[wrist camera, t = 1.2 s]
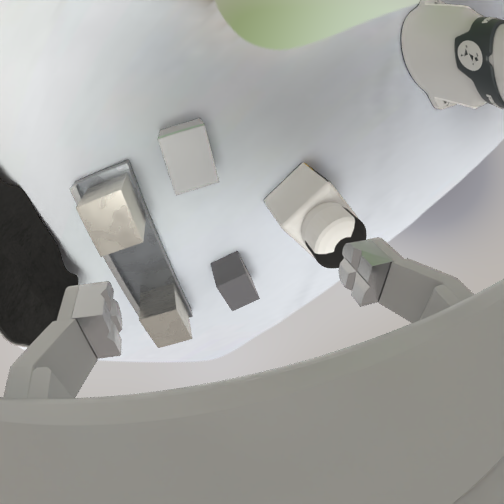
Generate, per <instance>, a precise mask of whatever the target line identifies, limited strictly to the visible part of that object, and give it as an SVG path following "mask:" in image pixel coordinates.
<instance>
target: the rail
mask: <svg viewBox="0 0 504 504" xmlns="http://www.w3.org/2000/svg"><path fill="white" fill-rule="evenodd" d="M70 191H71V193H72V195H73V197H74V199H75V202H76V204H77V207H76V209H77V211H78V213H79V215H80V217H81V219H82V221H83V223H84V225H85V227H86V229H87V231H88V233H89V235H90V237H91V239H92V241H93V243H94V245H95V247H96V249H97V250H98V252H99V254H100V256H101V257H102V256H103V257H104V259H105V261H106V263H107V264H108V266H109V268H110V270H111V271H112V273H113V275H114V277H115V278H116V280H117V282H118V284H119V285H120V287H121V289H122V290H123V292H124V294H125V295H126V297H127V298H128V300H129V302H130V303H131V305H132V306H133V308H134V310H135V311H136V313H137V314H138V316H139V321H140V322H141V324H142V325H143V327H144V328H145V330H146V331H147V332H148V334H149V335H150V337H151V338H152V340H153V341H154V343H155V344H156V345H157V347H158V348H160V347H164V346H168V345H171V344H175V343H179V342H182V341H186V340H189V339H192V334H191V327H190V320H189V317H192V310H191V308H190V305H189V303H188V301H187V299H186V297H185V295H184V293H183V291H182V288H181V286H180V284H179V282H178V280H177V278H176V275H175V273H174V271H173V269H172V266H171V264H170V262H169V260H168V257H167V255H166V253H165V251H164V248H163V246H162V244H161V241H160V239H159V236H158V234H157V232H156V229H155V227H154V224H153V222H152V219H151V217H150V214H149V212H148V209H147V207H146V204H145V202H144V199H143V197H142V194H141V191H140V189H139V186H138V184H137V181H136V178H135V175H134V173H133V170H132V167H131V164H130V162H129V160H126V161H124V162H121V163H118V164H116V165H113V166H111V167H108V168H106V169H103V170H101V171H98V172H96V173H94V174H91V175H89V176H87V177H84V178H82V179H80V180H77V181H75V183H74V184H73V185H72V187H71V188H70Z"/></svg>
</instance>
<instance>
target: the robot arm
mask: <svg viewBox="0 0 504 504" xmlns="http://www.w3.org/2000/svg"><path fill="white" fill-rule="evenodd" d="M401 43H402V51H403V56H404V60H405V63H406V66H407V68H408V70H409V72H410V74H411V76H412V78H413V79H414V81H415V82H416V83H417V84H418V85H419V87H420V88H422V89H423V90H424V91H425V92H426V93H427V95H428V96H429V98H430V101H431V103H432V105H433V106H434V107H435V108H436V109H440V110H442V109H445V108H448V107H451V106H454V105H457V104H459V105H462V106H466V107H469V108H473V109H477V108H478V107H481V106H483V105H485V104H486V103H489V104H492V105H495V106H496V107H498V108H501V109H504V20H501V19H498V18H494V17H484V16H483V15H481V14H478V13H477V12H475V10H474V9H471V8H470V7H469V6H465V5H453V4H446V3H444V2H443V1H441V0H420V3H419V5H418V7H417V8H415V9H414V10H413V11H411V12H410V13H409V14H408V16H407V17H406V19H405V21H404V24H403V28H402V36H401ZM342 254H343V256H344V259H343V260H342V261H341V263H340V266H339V277H340V280H341V282H342V284H343V285H344V287H345V288H347V289H350V290H352V292H351V295H352V297H353V298H354V299H355V300H356V302H357V303H358V304H359V306H360V307H361V306H364V305H369V304H372V303H375V302H379V303H380V304H381V305H383V306H385V307H386V308H388V309H390V310H391V311H393V312H395V313H396V314H398V315H400V316H401V317H403V318H405V319H406V320H408V321H410V322H411V323H412V324H409V325H407V326H404V327H402V328H399V329H397V330H394V331H392V332H389V333H386V334H384V335H381V336H378V337H376V338H373V339H370V340H367V341H365V342H362V343H359V344H356V345H353V346H350V347H347V348H344V349H341V350H338V351H335V352H332V353H328V354H325V355H322V356H319V357H315V358H312V359H309V360H305V361H302V362H298V363H294V364H291V365H287V366H284V367H280V368H275V369H272V370H268V371H264V372H259V373H255V374H251V375H246V376H242V377H237V378H232V379H227V380H223V381H217V382H213V383H207V384H201V385H195V386H190V387H184V388H177V389H171V390H163V391H156V392H148V393H139V394H129V395H118V396H106V397H90V398H75V397H76V396H77V394H78V392H79V390H80V389H81V387H82V385H83V384H84V382H85V380H86V378H87V377H88V375H89V373H90V372H91V370H92V368H93V367H94V365H95V363H96V362H97V359H98V358H106V357H113V356H120V355H121V343H122V339H121V337H120V335H119V332H120V331H121V330H122V317H121V311H120V307H119V305H118V302H117V301H116V300H115V299H113V294H114V291H113V288H112V285H111V283H110V282H109V281H106V282H98V283H90V284H82V285H75V286H69V287H67V288H66V290H65V293H64V296H63V300H62V303H61V307H60V310H59V314H58V318H57V321H53V322H52V323H51V324H50V325H49V326H48V327H47V328H46V329H45V330H44V331H43V332H42V333H41V334H40V335H39V336H38V337H37V338H36V339H35V340H34V341H33V343H32V344H31V345H30V346H29V347H28V348H27V349H26V350H25V351H24V352H23V354H22V355H21V356H20V357H19V358H18V359H17V360H16V361H15V362H14V364H13V365H12V366H11V367H10V371H9V375H8V379H7V383H6V388H5V392H4V397H0V504H504V279H503V280H501V281H499V282H497V283H496V284H494V285H492V286H490V287H488V288H486V289H484V290H483V291H481V292H479V293H477V294H475V295H474V294H473V293H472V292H471V291H470V290H469V289H468V288H467V287H466V286H465V285H464V284H463V283H462V282H461V281H460V280H458V278H456V277H453V276H451V275H448V274H446V273H443V272H441V271H438V270H435V269H433V268H431V267H428V266H426V265H423V264H421V263H418V262H416V261H413V260H410V259H408V258H407V259H404V258H403V257H402V256H401V255H400V254H399V253H398V252H396V251H395V250H394V249H393V248H392V247H391V246H390V245H389V244H388V243H386V242H385V241H384V240H383V239H382V238H379V237H377V238H372V239H367V240H363V241H358V242H352V243H346V244H345V245H344V247H343V251H342Z"/></svg>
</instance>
